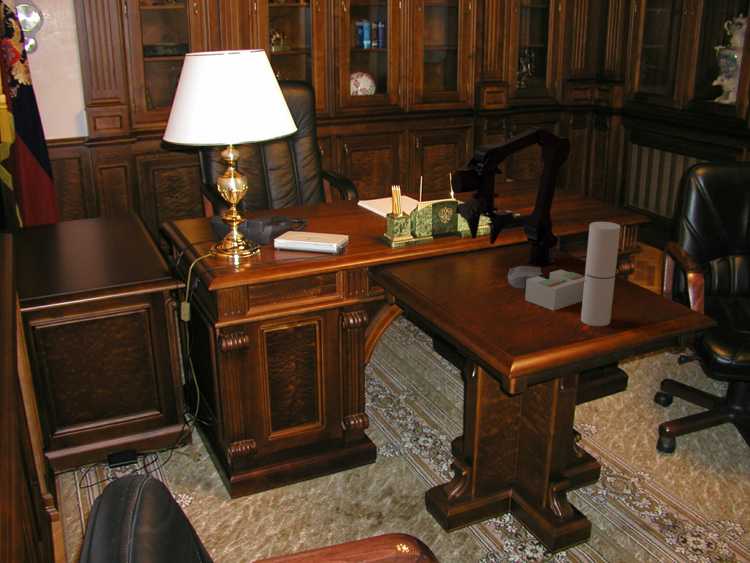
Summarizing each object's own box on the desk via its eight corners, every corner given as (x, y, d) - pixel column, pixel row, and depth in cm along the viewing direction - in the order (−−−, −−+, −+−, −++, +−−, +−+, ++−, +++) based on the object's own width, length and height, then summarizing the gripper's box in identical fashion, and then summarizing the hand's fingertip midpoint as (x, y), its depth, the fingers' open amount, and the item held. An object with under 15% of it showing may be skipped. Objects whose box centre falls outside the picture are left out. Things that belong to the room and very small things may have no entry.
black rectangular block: (541, 286, 209) (542, 269, 208) (566, 295, 202) (567, 278, 201) (524, 292, 205) (525, 274, 204) (549, 301, 199) (550, 283, 197)
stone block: (510, 294, 211) (545, 289, 209) (508, 278, 209) (543, 273, 208) (507, 282, 222) (541, 277, 220) (505, 267, 221) (539, 261, 219)
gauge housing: (558, 289, 209) (560, 268, 207) (587, 299, 201) (589, 277, 199) (525, 300, 201) (526, 278, 199) (553, 310, 193) (555, 288, 191)
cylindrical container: (593, 328, 182) (603, 230, 174) (575, 318, 188) (583, 223, 180) (616, 323, 185) (626, 227, 177) (597, 313, 191) (606, 220, 183)
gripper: (443, 188, 217) (441, 239, 222) (488, 199, 203) (485, 253, 208) (470, 183, 223) (468, 233, 228) (516, 194, 209) (513, 246, 214)
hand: (482, 241), depth 220 cm, fingers open, 7 cm apart
